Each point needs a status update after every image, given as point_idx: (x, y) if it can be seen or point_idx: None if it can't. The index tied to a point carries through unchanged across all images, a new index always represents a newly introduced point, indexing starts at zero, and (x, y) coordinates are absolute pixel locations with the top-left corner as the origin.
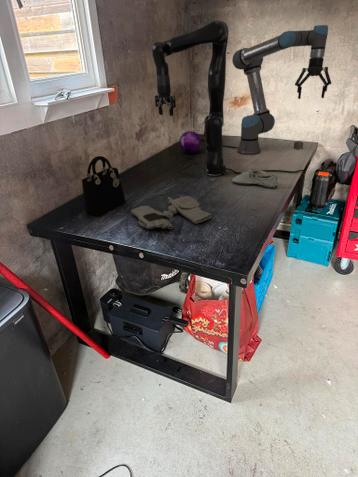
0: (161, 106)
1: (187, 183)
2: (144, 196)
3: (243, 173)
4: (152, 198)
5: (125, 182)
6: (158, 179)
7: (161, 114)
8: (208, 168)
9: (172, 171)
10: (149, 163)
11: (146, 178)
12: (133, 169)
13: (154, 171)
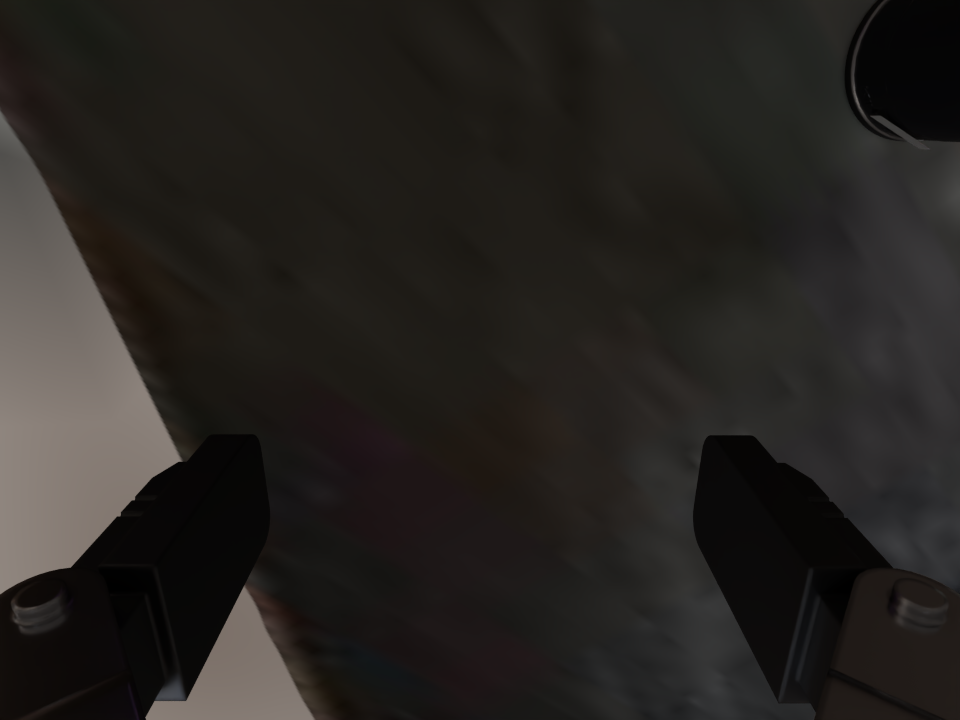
0: (106, 634)
1: (813, 372)
2: (694, 652)
3: None
4: None
5: (412, 590)
6: (564, 435)
7: (261, 484)
8: (938, 140)
9: (526, 239)
10: (156, 196)
11: (470, 470)
12: (203, 397)
13: (392, 330)
